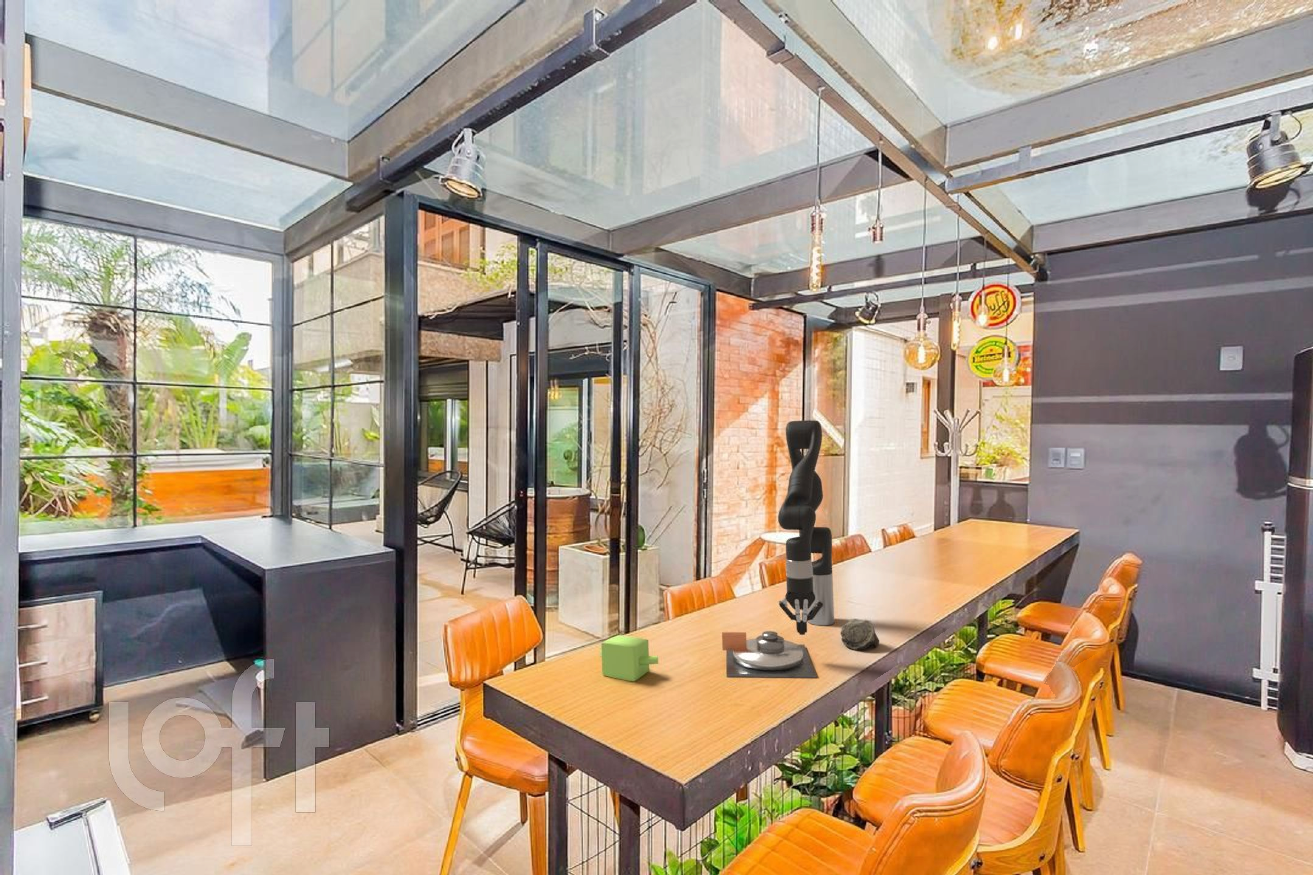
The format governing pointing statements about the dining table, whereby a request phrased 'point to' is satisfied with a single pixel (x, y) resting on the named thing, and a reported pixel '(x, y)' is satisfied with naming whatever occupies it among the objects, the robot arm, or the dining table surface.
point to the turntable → (752, 658)
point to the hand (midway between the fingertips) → (801, 633)
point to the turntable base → (798, 671)
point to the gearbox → (626, 657)
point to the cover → (770, 643)
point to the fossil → (859, 634)
